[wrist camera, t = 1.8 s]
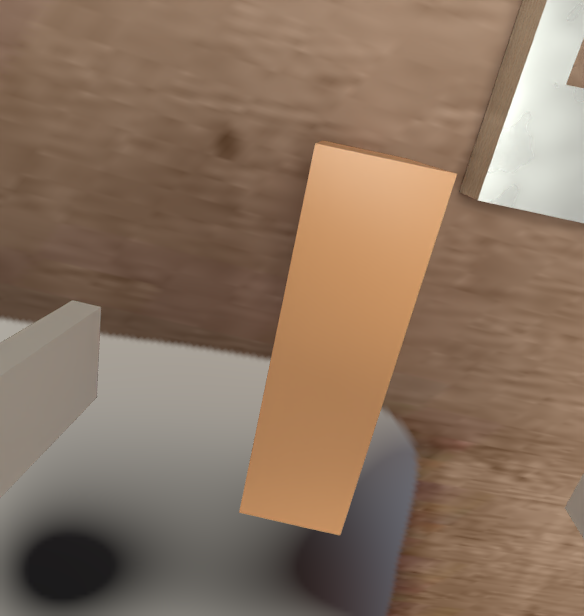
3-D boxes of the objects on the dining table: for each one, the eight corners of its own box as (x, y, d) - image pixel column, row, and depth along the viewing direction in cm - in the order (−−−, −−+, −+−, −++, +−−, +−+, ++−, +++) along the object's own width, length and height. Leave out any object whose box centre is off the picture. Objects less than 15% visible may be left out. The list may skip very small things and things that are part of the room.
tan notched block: (277, 361, 26) (239, 512, 15) (324, 140, 21) (315, 143, 11) (338, 375, 26) (340, 535, 15) (398, 155, 21) (457, 173, 11)
